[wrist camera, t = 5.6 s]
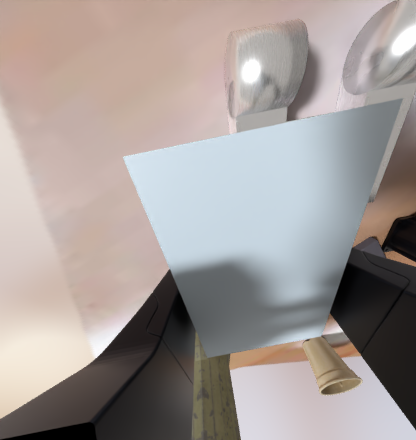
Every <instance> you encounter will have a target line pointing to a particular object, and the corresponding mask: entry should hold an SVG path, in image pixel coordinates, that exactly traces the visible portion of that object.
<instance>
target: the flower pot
mask: <svg viewBox="0 0 416 440" xmlns="http://www.w3.org/2000/svg"><path fill="white" fill-rule="evenodd" d="M303 348H304V351H305V353H306V355H307V358H308V360H309V362H310V365H311V367H312V369H313V372H314V374H315V377H316V379H317V384H318V386H319V392H320V394H321V395H335V394H340V393H344V392H347V391H349V390H352V389H354V388H356V387H358V386H359V385H360V384H361V383H362V379H361V378H360V377H358V376H357V375H356V374H355V373H354V372H353V371H352V370H350V368H349V367H348V366H347V365H346V364H345V363H344V361H343V360H342V359H341V358H340V357H339V355H338V354H337V353H336V352H335V350H334V349H333V348H332V347H331V346H330V344H329V343H328V342H327V341H326V339H325V338H323V337H315V338H310V340H309V341H305V342H304V343H303Z"/></svg>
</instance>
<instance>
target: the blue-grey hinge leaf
mask: <svg viewBox="0 0 416 440" xmlns="http://www.w3.org/2000/svg"><path fill="white" fill-rule="evenodd" d="M402 100H403V98H401V99H396V100H391V101H386V102H382V103H377V104H372V105H367V106H363V107H358V108H353V109H348V110H344V111H339V112H334V113H329V114H325V115H320V116H315V117H310V118H306V119H301V120H296V121H291V122H287V123H282V124H277V125H272V126H268V127H263V128H258V129H253V130H248V131H244V132H239V133H234V134H229V135H225V136H220V137H215V138H210V139H206V140H201V141H196V142H191V143H187V144H182V145H177V146H172V147H168V148H163V149H158V150H153V151H149V152H144V153H139V154H134V155H130V156H125V157H123V159H124V161H125V164H126V166H127V168H128V171H129V173H130V176H131V178H132V180H133V183H134V185H135V187H136V190H137V192H138V195H139V197H140V199H141V202H142V204H143V206H144V209H145V211H146V214H147V216H148V218H149V221H150V223H151V225H152V228H153V230H154V232H155V235H156V237H157V240H158V242H159V244H160V247H161V249H162V251H163V254H164V256H165V259H166V261H167V263H168V266H169V268H170V270H171V273H172V275H173V278H174V280H175V282H176V285H177V287H178V289H179V292H180V294H181V296H182V299H183V301H184V304H185V306H186V308H187V311H188V313H189V315H190V318H191V320H192V323H193V325H194V327H195V330H196V332H197V334H198V337H199V339H200V342H201V344H202V346H203V349H204V351H205V353H206V356H207V358H210V357H215V356H220V355H226V354H231V353H236V352H241V351H247V350H252V349H257V348H262V347H268V346H273V345H278V344H283V343H289V342H294V341H299V340H305V339H310V338H315V337H320V336H322V333H323V330H324V328H325V325H326V322H327V319H328V316H329V313H330V310H331V307H332V304H333V301H334V298H335V296H336V293H337V290H338V287H339V284H340V281H341V278H342V275H343V272H344V269H345V266H346V263H347V261H348V258H349V255H350V252H351V249H352V246H353V243H354V240H355V237H356V234H357V231H358V229H359V226H360V223H361V220H362V217H363V214H364V211H365V208H366V205H367V202H368V199H369V196H370V194H371V191H372V188H373V185H374V182H375V179H376V176H377V173H378V170H379V167H380V164H381V162H382V159H383V156H384V153H385V150H386V147H387V144H388V141H389V138H390V135H391V132H392V129H393V127H394V124H395V121H396V118H397V115H398V112H399V109H400V106H401V103H402Z"/></svg>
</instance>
